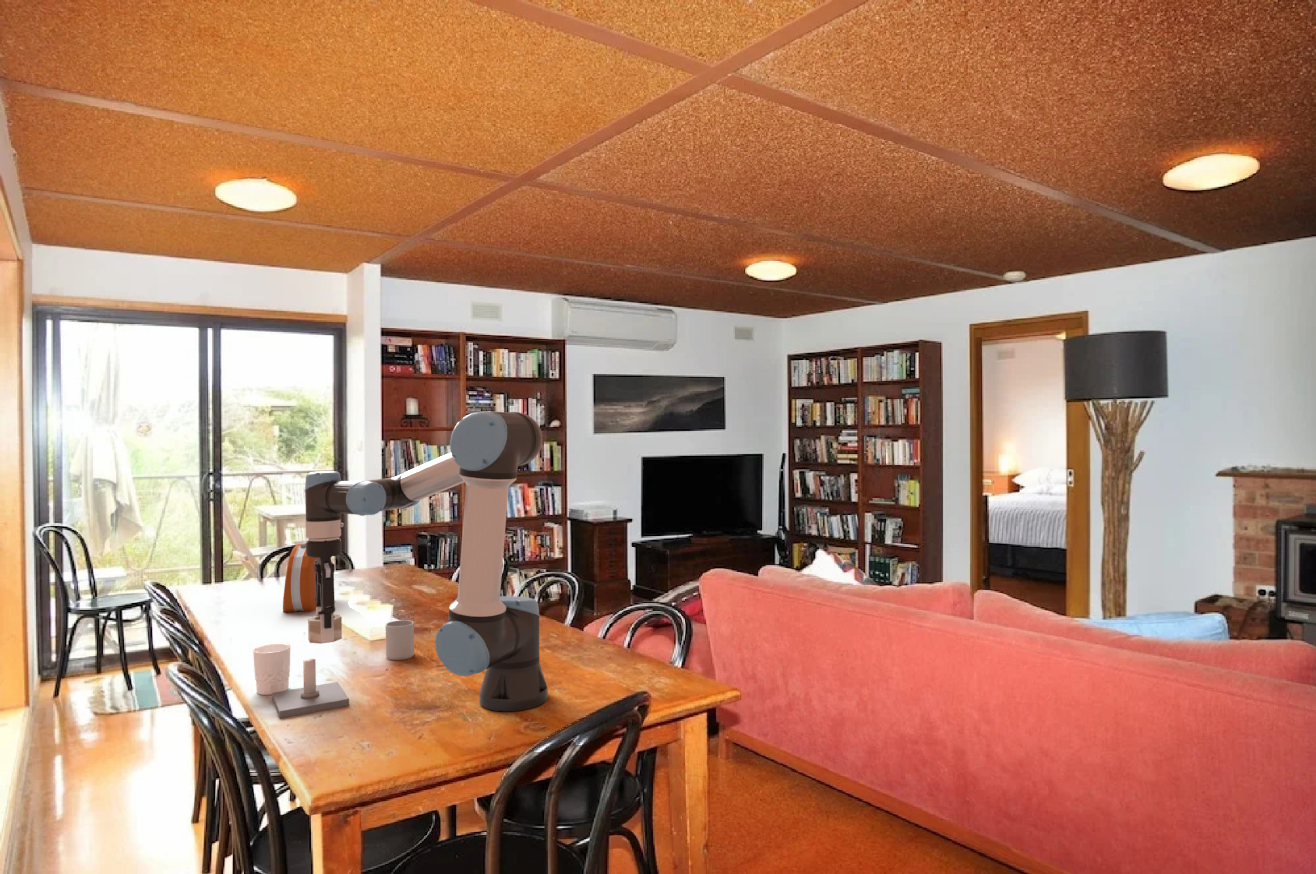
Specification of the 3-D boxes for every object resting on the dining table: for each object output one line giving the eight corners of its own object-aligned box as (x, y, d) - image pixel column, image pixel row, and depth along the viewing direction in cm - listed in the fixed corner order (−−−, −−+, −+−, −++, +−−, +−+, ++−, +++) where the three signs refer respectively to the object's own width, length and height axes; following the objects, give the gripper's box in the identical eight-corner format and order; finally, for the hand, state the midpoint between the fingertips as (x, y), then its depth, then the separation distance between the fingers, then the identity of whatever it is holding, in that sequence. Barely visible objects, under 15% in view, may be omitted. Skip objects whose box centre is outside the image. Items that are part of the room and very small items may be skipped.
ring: (343, 640, 182) (342, 619, 182) (310, 644, 179) (310, 622, 179) (338, 634, 188) (338, 612, 188) (307, 638, 185) (307, 616, 185)
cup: (389, 662, 209) (389, 628, 209) (380, 653, 218) (380, 620, 218) (417, 657, 213) (416, 624, 213) (407, 648, 221) (407, 617, 221)
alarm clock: (300, 600, 286) (299, 537, 286) (328, 599, 287) (327, 536, 287) (278, 614, 264) (276, 546, 264) (309, 613, 265) (307, 546, 265)
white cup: (266, 698, 182) (265, 654, 182) (247, 692, 186) (246, 650, 186) (298, 688, 189) (297, 646, 188) (278, 683, 193) (277, 642, 193)
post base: (349, 705, 176) (348, 662, 176) (279, 718, 169) (278, 673, 169) (337, 688, 188) (336, 648, 188) (272, 699, 181) (271, 657, 181)
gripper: (347, 542, 176) (349, 646, 177) (335, 532, 193) (336, 626, 194) (311, 545, 173) (312, 651, 173) (301, 534, 190) (302, 630, 190)
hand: (325, 638), depth 183 cm, fingers closed on ring, 7 cm apart
